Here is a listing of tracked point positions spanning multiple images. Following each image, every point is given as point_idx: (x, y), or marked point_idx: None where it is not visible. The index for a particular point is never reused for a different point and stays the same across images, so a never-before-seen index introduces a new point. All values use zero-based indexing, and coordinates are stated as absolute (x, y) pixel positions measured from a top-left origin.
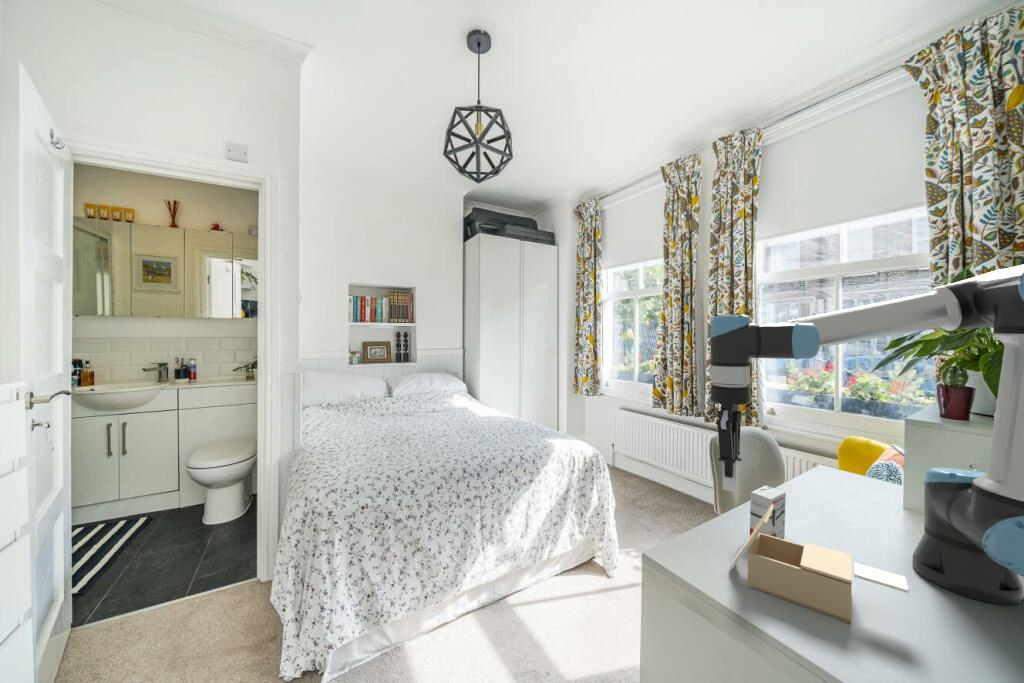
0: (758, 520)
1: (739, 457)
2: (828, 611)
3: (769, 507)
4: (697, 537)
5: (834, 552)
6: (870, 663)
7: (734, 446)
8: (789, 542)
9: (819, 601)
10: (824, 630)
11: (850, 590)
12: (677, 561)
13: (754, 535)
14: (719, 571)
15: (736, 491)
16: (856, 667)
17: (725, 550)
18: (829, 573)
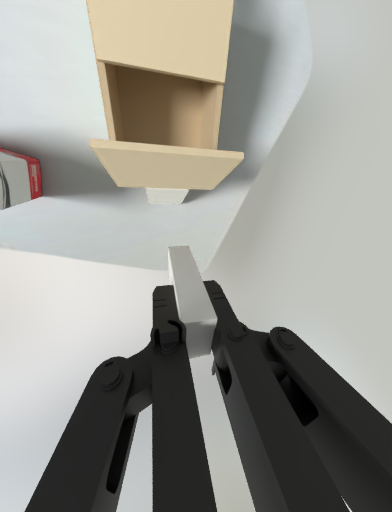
0: (13, 187)
1: (153, 342)
2: None
3: (108, 153)
4: (119, 256)
5: None
6: (287, 3)
7: (302, 452)
8: (111, 106)
9: None
10: (244, 69)
11: None
12: (195, 253)
13: (224, 177)
14: (186, 213)
15: (185, 247)
16: (299, 31)
17: (125, 219)
18: (232, 4)
